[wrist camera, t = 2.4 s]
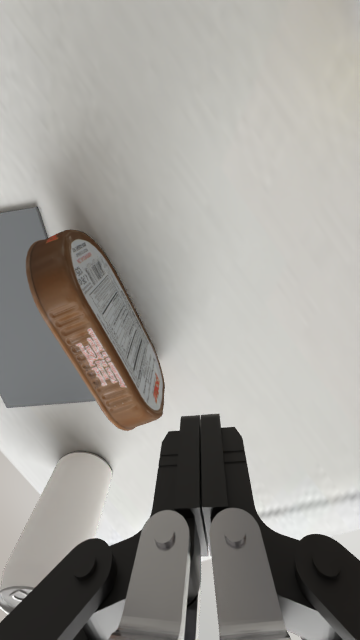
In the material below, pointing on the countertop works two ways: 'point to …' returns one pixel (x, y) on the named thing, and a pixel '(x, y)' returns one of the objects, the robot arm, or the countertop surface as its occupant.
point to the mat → (29, 326)
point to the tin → (96, 326)
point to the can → (57, 523)
